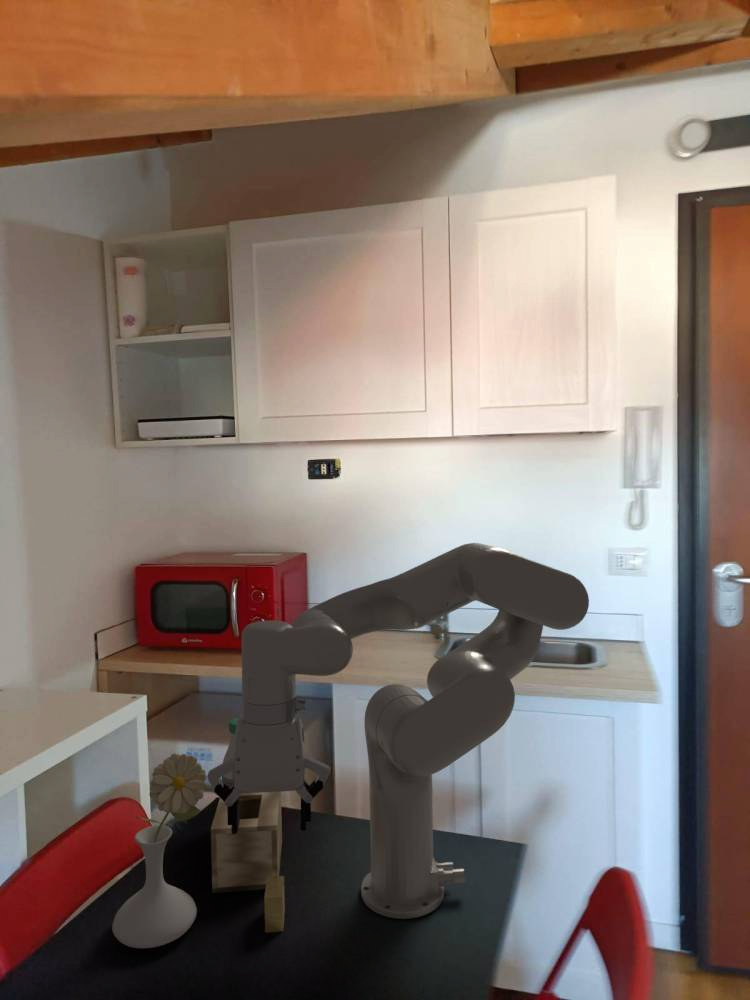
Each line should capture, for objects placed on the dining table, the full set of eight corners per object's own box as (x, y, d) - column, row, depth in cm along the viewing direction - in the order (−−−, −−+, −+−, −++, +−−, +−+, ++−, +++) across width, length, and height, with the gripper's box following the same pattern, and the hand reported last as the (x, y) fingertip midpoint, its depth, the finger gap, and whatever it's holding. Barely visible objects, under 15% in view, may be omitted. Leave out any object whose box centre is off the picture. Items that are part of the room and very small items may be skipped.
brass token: (284, 908, 101) (284, 875, 100) (283, 931, 96) (282, 896, 96) (267, 910, 100) (266, 877, 100) (265, 933, 95) (264, 898, 95)
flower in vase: (108, 965, 89) (103, 779, 88) (116, 911, 100) (112, 745, 99) (210, 946, 93) (207, 767, 92) (207, 895, 104) (204, 735, 103)
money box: (282, 843, 118) (280, 786, 118) (278, 888, 106) (276, 825, 105) (223, 846, 118) (222, 790, 117) (212, 892, 105) (210, 829, 104)
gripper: (329, 699, 101) (329, 812, 102) (211, 702, 100) (212, 817, 100) (330, 716, 94) (330, 838, 94) (202, 721, 92) (204, 844, 93)
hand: (269, 827), depth 97 cm, fingers open, 9 cm apart
